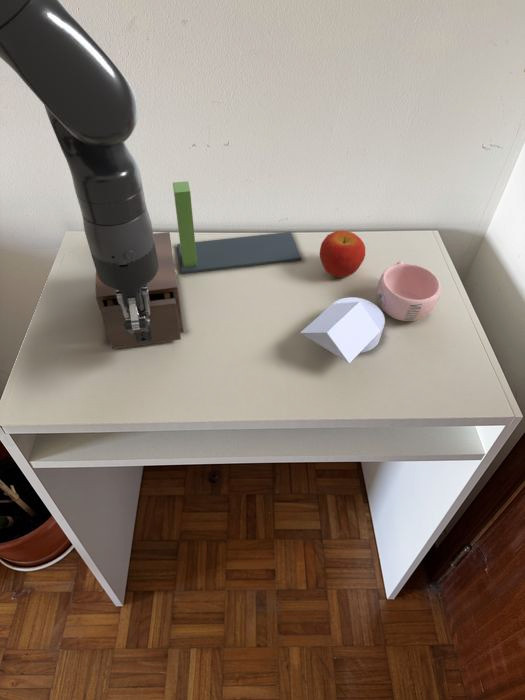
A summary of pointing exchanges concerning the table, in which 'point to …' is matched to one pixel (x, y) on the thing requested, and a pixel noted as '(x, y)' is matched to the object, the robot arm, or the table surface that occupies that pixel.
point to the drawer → (160, 317)
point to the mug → (408, 291)
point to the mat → (243, 252)
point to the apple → (342, 253)
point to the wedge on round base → (347, 327)
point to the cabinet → (158, 284)
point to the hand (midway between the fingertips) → (144, 338)
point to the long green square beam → (185, 223)
